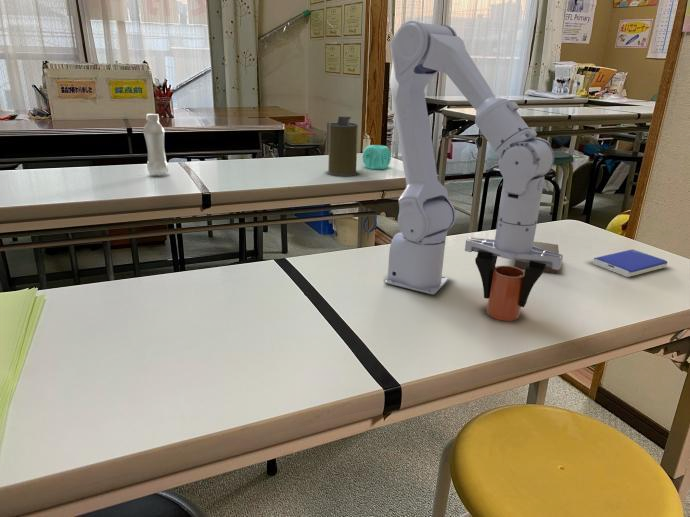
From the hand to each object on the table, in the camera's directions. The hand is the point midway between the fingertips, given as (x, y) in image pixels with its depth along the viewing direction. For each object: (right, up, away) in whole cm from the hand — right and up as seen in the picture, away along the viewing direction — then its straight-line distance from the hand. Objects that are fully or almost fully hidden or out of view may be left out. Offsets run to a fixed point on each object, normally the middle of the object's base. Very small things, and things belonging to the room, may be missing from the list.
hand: (504, 300), depth 83 cm
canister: (-27, +37, +102) cm, 112 cm away
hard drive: (+33, +5, +23) cm, 41 cm away
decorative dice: (-14, +42, +115) cm, 123 cm away
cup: (0, -2, +1) cm, 2 cm away
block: (+13, +6, +23) cm, 27 cm away
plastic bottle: (-89, +35, +90) cm, 131 cm away
